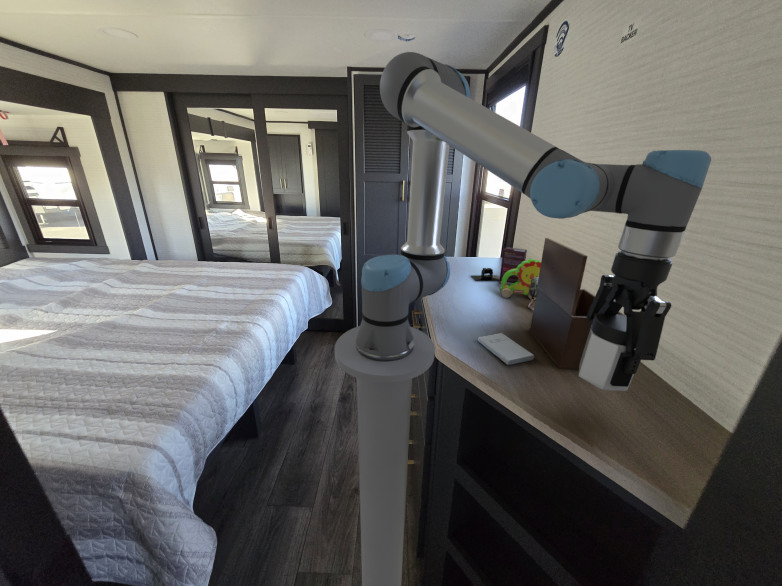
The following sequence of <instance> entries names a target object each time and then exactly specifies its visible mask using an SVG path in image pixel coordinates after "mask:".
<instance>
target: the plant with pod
mask: <svg viewBox="0 0 782 586" xmlns="http://www.w3.org/2000/svg"><path fill="white" fill-rule="evenodd" d="M531 277H532V276H531ZM538 278H539V277H535V278H532V280H531V284H530V288H529V295H530V296H531V297H532V300H531V299H530V300H529V303H528V306H527V308H529V310H530V311H532V312H533V311H534V306H535V303H533V301H535V300H534V297H535V298H536V297H537V292H538V288H539V287H537V284H538Z"/></svg>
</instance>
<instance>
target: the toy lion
mask: <svg viewBox="0 0 782 586" xmlns="http://www.w3.org/2000/svg"><path fill="white" fill-rule="evenodd" d="M540 266H541V260H539V259H534V258H528V259H527V260H525V261H523V262H522V263H521V264H519V265H518V266H517V268H516V269H511V270H509V271H507V272H506V273H505V274H504V276H503V278H502V282H501V286H500V287H499V292H500V293H501V296H502V297H503V298H504V299H508V298H510V297H511V296H512V295H513V294H521V295H525V296H527V298H528V299H529V300H530V301H531V300H532V297H531V296H530V295H529V288H530V284H531V280H532V278H535V277H539V272H540ZM511 275H516V276H518V282H515V283H513V284H511V285H510V286H508V285H506V282H507V279H508V277H509V276H511ZM531 276H532V277H531ZM533 301H536V298H535V297H534V300H533Z"/></svg>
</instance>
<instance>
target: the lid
mask: <svg viewBox="0 0 782 586" xmlns="http://www.w3.org/2000/svg"><path fill="white" fill-rule="evenodd" d="M587 260H588V255H586V254H585V253H582V252H580V251H578V250H576V249H573V248H572V247H569V246H567V245H564V244H562V243H561V242H558V241H556V240H554V239H551V238H549V237H545V238H544V242H543V248H542V254H541V260H540V262H541V266H540V272H539V278H538V284H537V287H539V288H540V289H541V290H542V291H543V292H544V293H546V294H547V295H548V296H549V297H550V298H551V299H553V300H554V301H555V302H556V303H557V304H559V305H560V306H561V307H562V308H563V309H564V310H566V311H567V312H568V313H569V314H570V315H575V311H576V306H577V302H578V297H579V293H580V289H582V282H583V279H584V274H585V270H586V265H587V262H588V261H587Z"/></svg>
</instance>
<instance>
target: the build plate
mask: <svg viewBox="0 0 782 586" xmlns="http://www.w3.org/2000/svg"><path fill="white" fill-rule="evenodd" d="M470 277H471V278H472V280H474V281H475V282H499V279H500V276H498V275H497V274H495V275H494V270H493V268H491V267H482V269H481V272H480V275H470Z"/></svg>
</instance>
